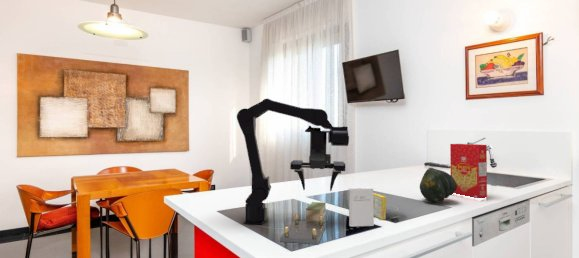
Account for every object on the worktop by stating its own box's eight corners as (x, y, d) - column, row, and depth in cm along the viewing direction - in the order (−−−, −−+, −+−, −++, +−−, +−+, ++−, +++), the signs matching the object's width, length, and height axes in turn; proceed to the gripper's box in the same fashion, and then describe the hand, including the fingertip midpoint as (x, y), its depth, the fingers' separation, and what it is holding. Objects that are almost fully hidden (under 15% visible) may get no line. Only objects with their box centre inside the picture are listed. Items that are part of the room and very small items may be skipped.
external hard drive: (348, 225, 110) (348, 188, 110) (372, 224, 110) (372, 187, 110) (350, 226, 108) (349, 189, 108) (374, 225, 109) (373, 188, 109)
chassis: (280, 241, 94) (280, 228, 94) (293, 223, 111) (293, 213, 111) (318, 244, 91) (318, 231, 91) (326, 225, 109) (325, 214, 109)
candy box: (386, 220, 116) (386, 196, 116) (381, 220, 116) (381, 197, 116) (365, 209, 132) (365, 188, 132) (360, 209, 131) (360, 189, 131)
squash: (413, 202, 143) (413, 168, 143) (429, 197, 153) (429, 165, 153) (447, 208, 132) (446, 171, 132) (461, 202, 142) (461, 168, 142)
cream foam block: (306, 223, 113) (306, 208, 113) (312, 215, 124) (312, 202, 124) (320, 224, 112) (320, 209, 112) (325, 216, 122) (325, 202, 122)
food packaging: (450, 195, 158) (450, 143, 158) (458, 194, 160) (458, 143, 160) (478, 201, 145) (478, 145, 145) (486, 200, 147) (486, 144, 147)
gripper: (289, 145, 106) (288, 193, 106) (346, 147, 104) (345, 196, 104) (292, 144, 117) (291, 187, 117) (344, 145, 115) (344, 189, 115)
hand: (317, 190), depth 113 cm, fingers open, 9 cm apart
